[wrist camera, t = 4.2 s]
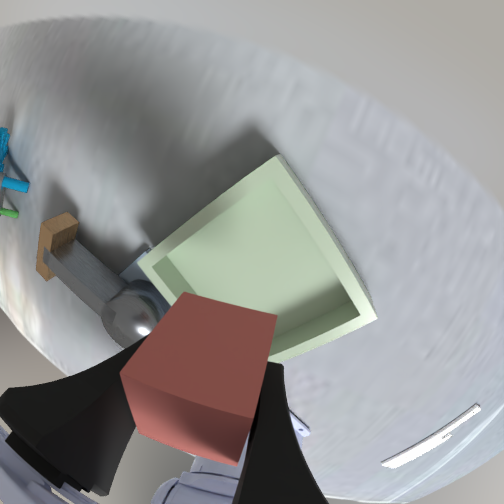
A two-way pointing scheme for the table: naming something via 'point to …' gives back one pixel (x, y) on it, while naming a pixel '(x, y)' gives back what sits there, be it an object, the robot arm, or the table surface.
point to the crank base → (134, 271)
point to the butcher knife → (429, 441)
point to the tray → (266, 261)
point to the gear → (1, 181)
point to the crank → (98, 283)
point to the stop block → (200, 376)
